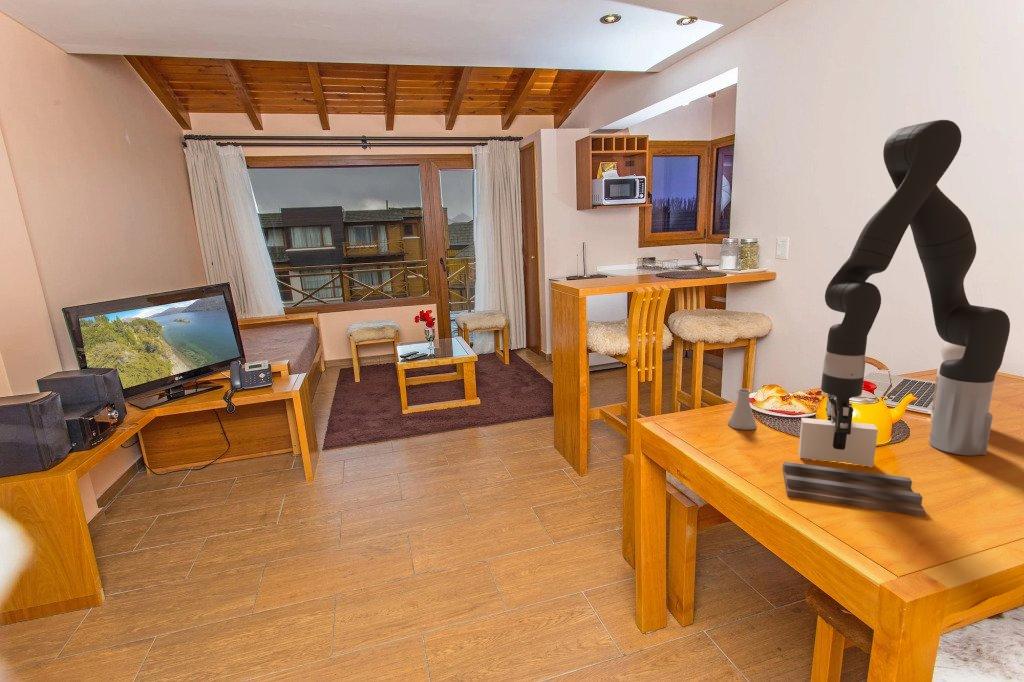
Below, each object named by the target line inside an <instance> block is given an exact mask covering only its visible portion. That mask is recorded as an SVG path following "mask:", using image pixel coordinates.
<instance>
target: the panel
mask: <svg viewBox="0 0 1024 682" xmlns="http://www.w3.org/2000/svg"><path fill="white" fill-rule="evenodd" d="M800 418H801V421H800V431H799V441H798V442H799V443H798V452H799V453H798V456H800V457H799V459H800V458H805V459H804V460H808V459H815V460H814V461H816V460H826V461H836V462H846V463H852V464H858V465H865V466H870V467H869V468H872V467H873V468H874V465H875V464H874V463H875V455H876V449H877V448H876V447H877V440H878V432H879V430H878V428H877V426H876V425H875V424H871V423H865V422H864V423H863V422H852V424H851V433H850V435H848V434H847V437H846V445H845V449H844V450H840V449H834V448H833V438H834V423H833V422H832V421H831V420H828V419H819V418H808V417H800ZM840 428H845V425H844V424H842V423H841V424H840ZM806 458H807V459H806Z"/></svg>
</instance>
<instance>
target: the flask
mask: <svg viewBox="0 0 1024 682" xmlns="http://www.w3.org/2000/svg"><path fill="white" fill-rule="evenodd" d="M737 393H738V396H737V400H736V403H735V407H734V410H733V411H732V413H731V415H730V418H729V420H728V422H727V425H728V426H730V427H731V428H733V429H735V430H744V431H748V430H755V429H756V428H757V421H756V419H755V416H754V414H753V410H752V407H751V404H750V402H751V401H750V394H751V390H750V389H748V388H738V389H737Z"/></svg>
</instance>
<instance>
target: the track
mask: <svg viewBox="0 0 1024 682" xmlns="http://www.w3.org/2000/svg"><path fill="white" fill-rule="evenodd" d="M782 475H783V478H784V479H783V481H784V487H785V492H786V496H787V497H791V498H792V497H793V498H797V499H798V498H800V499H803V500H805V499H806V500H812V501H818V502H819V501H820V502H826V503H830V504H831V503H832V504H839V505H844V504H845V505H846V506H850V505H851V506H850V507H857V506H859V508H864V509H871V510H879V511H885V512H892V513H897V512H899V513H898V514H903V513H904V515H910V516H918V517H923V518H924V517H925V514H926V509H925V508H924V506H923V505H922V503H923V496H922V495H921V493H920V492H914V491H913V489H912V485H913V484H912V483H913V481H912V480H911V478H910V477H908V476H907V477H906V476H898V475H891V474H884V473H883V474H882V473H877V472H870V471H869V472H867V471H862V470H861V471H859V470H851V469H847V468H845V469H844V468H837V467H829V466H828V467H827V466H820V465H814V464H813V465H812V464H807V463H806V464H805V463H796V462H790V461H789V462H788V461H784V462H783V463H782Z"/></svg>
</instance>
